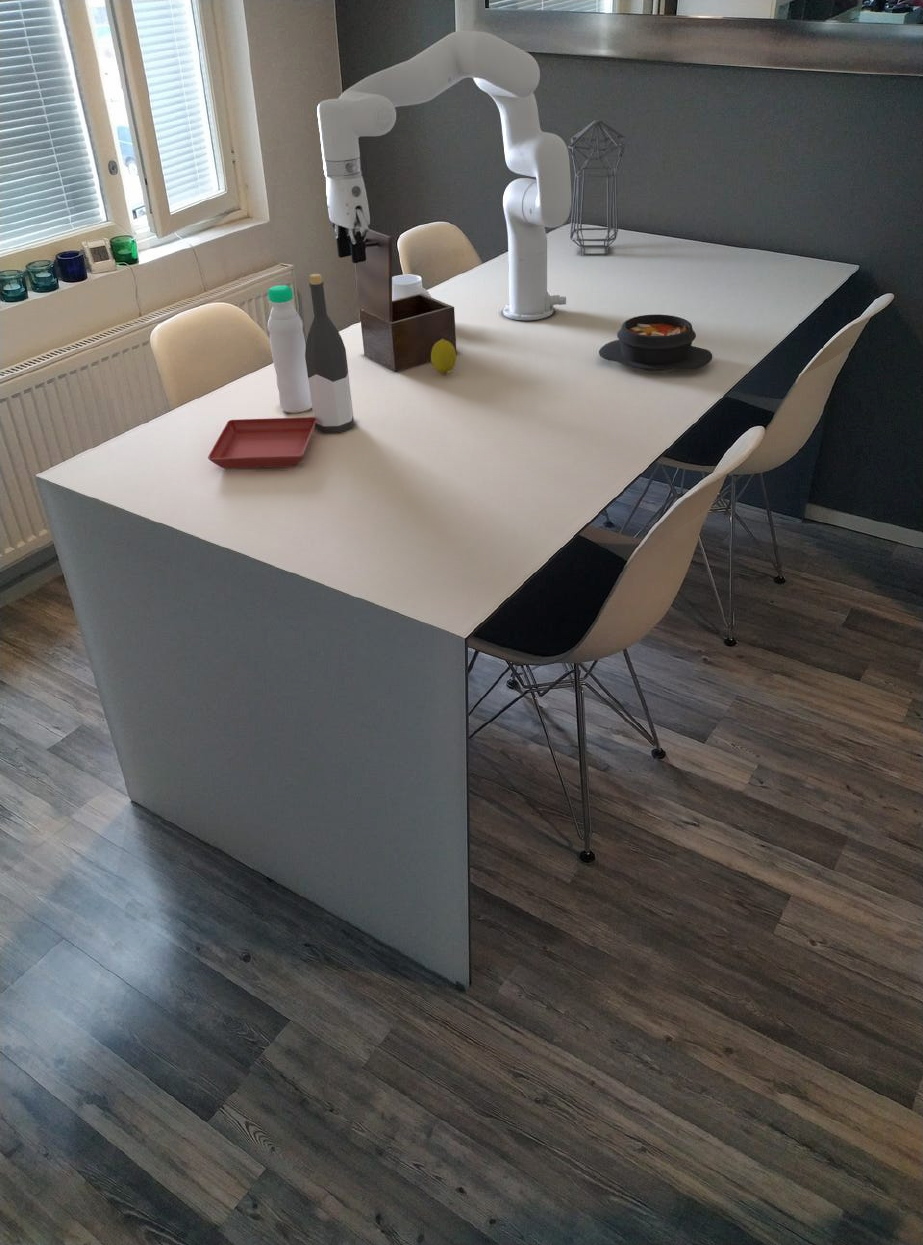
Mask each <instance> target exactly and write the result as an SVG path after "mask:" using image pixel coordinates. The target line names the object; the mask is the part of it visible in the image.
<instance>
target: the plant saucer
mask: <svg viewBox="0 0 923 1245" xmlns="http://www.w3.org/2000/svg"><path fill="white" fill-rule="evenodd" d="M316 421H317V418H316V417H314V416H311V417H309V416H308V417H307V416H305V417H276V418H275V417H274V418H272V417H271V418H244V419H229V420H227V421H226V424H225V426H224V428H223V429H222V430H221V433H220V435H219V436H218V438H217V440H216V441H215V443H214V445H213V447H212V449H211V450H210V453H209V454H208V456H207V459H208V460H209V461H210V462H211V463H213V464H214V465H216V466H218V467H220V468H222V469H250V468H251V469H252V468H253V469H257V468H288V467H297V466H298V465H299V464H300V463H301V461H302V460H303V457H304V455H305V453H306V450H307V447H308V444H309V442H310V439H311V436H312V434H313V431H314V429H315V424H316Z"/></svg>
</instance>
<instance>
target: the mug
mask: <svg viewBox="0 0 923 1245" xmlns="http://www.w3.org/2000/svg"><path fill="white" fill-rule="evenodd" d="M420 293H421V294H424V295H426V296H429V297H431V298H432V295H431V294H430V292H429V291H428V290H427V289H426V288H424V286H423V279H422V277H421V276H420V275H418V274H398V275H394V276H392V301H393V300H397V299H401V298H405V297H408V296H412V295H416V294H420Z"/></svg>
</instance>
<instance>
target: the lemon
mask: <svg viewBox="0 0 923 1245" xmlns="http://www.w3.org/2000/svg"><path fill="white" fill-rule="evenodd" d="M456 352H457V351H456ZM456 352H455V349H454V347H453V345H452V344H451V343H450V342H449V341H446V340H444V339H441V340H440V341H438V342H436V343H435V344H434V346H433V348H432V351H431V361H430V362H431V364H432V366H433V368H434V370H436V371H437V372H439V373H441V374H442V375H446V374H447V373H449V372H450V371H452V370H453V369H454V368H455V366H456V363H457V354H456Z"/></svg>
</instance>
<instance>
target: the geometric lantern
mask: <svg viewBox="0 0 923 1245" xmlns="http://www.w3.org/2000/svg"><path fill="white" fill-rule="evenodd" d="M599 130H600V132H601V134H602V138H603V139H601V140H600V139H599V138H600V137H599ZM590 131H591V134H590V137H589V138H588V137H586V136H587V134H589V132H590ZM606 135H607V136H608V137H607V136H606ZM593 137H594V138H593ZM620 138H621V139H620ZM625 139H626V136H624V135H623V134H621V133H620V132H619V131H617V130H615V128H613V127H611V126H610V125H609V124H606V123H605V122H604V121H603V120H600V119H596V120H595V119H594V121H592V122H590V123H589V124H588V125H587V126H585V127H584V128H583V129H582V130H580V131H579V132H578V133H576V134H575V135H573V136H572V137H571V138H570V142H571V143H570V144H568V145H567V149H568V151H569V152H570V153H569V154H570V156H571V157H572V163H573V168H574V181H573V182H574V184H573V195H572V196H573V198H572V206H571V220H570V235H569V240H570V241H572V242H573V243H575V244H576V245H577V246H578V247H579V255H582V256H607V255H609V254H610V246H611V245H612V244H613V243H614V241H616V239H617V237H618V234H619V233H618V232H619V212H618V174H617V173H618V168H619V166H620V163H621V159H622V157H623V156H624V155H623V154H624V152H625V148H626V145H625ZM609 140H611V141H610V143H609V144H608V141H609ZM585 141H588V143H587V142H585ZM592 142H595V146H592V145H591V144H592ZM579 143H582V144H583V145H585V146H580V145H578V144H579ZM600 143H605V144H604V147H600ZM613 144H614V145H613ZM618 148H619V151H618V154H617V155H616V158H615V161H614V164H613V165H612V164H611V163H610V161H609V158H608V157H607V155H609V154H610V153H612V152H614V151H615V150H616V149H617V150H618ZM580 149H583V150H586V152H587V156H586V155H585V154H584V153H582V152H581V151H580ZM590 150H592V152H591V154H590ZM606 150H608V151H606ZM596 151H597V157H593V156H594V153H595V152H596ZM575 152H576V153H577V154H579V155H580V156H581V157H583V158H584V159H585V162H584V163H583V165H582V166H581V167H580V166H579V164H578V161H577V158H576V156H575ZM600 152H602V153H603V154H601V155H600ZM603 157H605V160H606V161H607V163H608V165H609V166H606V165H605V163H604V161H603V159H602V158H603ZM597 160H599V161H600V163H601V166H602V167H601V166H599V167H597V166H596V167H588V165H589V163H590V162H591V161H592V162H593V161H597ZM616 163H617V164H616ZM608 169H610V170H611V173H609V171H608ZM586 170H604V171H605V173H606V175H600V174H599V175H588V174H587V175H586ZM581 172H582V175H580V173H581ZM580 178H582V183H581V184H582V185H581V186H582V187H581V202H580V180H581V179H580ZM585 178H606V226H607V227H582V226H583V214H584V195H585V181H586V179H585ZM610 178H611V180H610ZM610 182H611V183H610ZM612 226H613V227H612ZM579 231H580V236H581V237H580V236H579ZM583 231H607V233H606V237H605V238H584V234H583ZM612 231H613V234H612V235H611V236H610V233H611V232H612ZM574 234H575V235H576V238H574ZM585 242H603V244H585ZM587 248H588V249H589V248H593V249H594V248H600V249H601V248H603V249H604V253H585V249H587Z"/></svg>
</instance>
